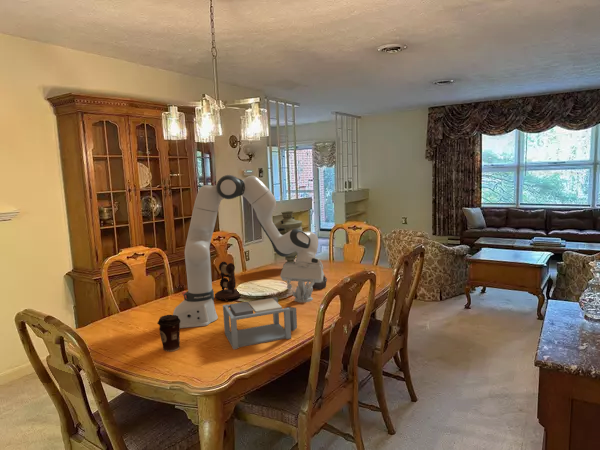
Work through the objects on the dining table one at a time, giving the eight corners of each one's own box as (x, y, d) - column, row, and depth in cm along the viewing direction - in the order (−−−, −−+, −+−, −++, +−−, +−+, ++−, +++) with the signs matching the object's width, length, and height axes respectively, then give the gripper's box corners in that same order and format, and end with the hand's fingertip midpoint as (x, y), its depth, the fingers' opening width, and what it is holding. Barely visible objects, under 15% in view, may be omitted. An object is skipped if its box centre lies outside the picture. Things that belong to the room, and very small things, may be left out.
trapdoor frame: (233, 349, 162) (231, 318, 161) (224, 333, 179) (222, 305, 177) (291, 338, 171) (289, 309, 169) (277, 323, 187) (276, 297, 186)
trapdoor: (236, 320, 164) (236, 313, 164) (230, 310, 176) (229, 303, 176) (282, 312, 171) (281, 306, 170) (273, 303, 183) (272, 297, 182)
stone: (293, 330, 179) (292, 310, 177) (285, 329, 180) (284, 309, 179) (297, 327, 182) (296, 307, 181) (288, 326, 184) (287, 306, 182)
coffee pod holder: (247, 297, 229) (245, 261, 227) (225, 303, 219) (222, 266, 217) (231, 292, 240) (229, 258, 237) (209, 298, 229) (207, 263, 227)
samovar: (297, 276, 270) (295, 214, 264) (265, 272, 284) (262, 213, 279) (320, 266, 294) (318, 210, 289) (290, 263, 308) (287, 209, 303)
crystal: (317, 296, 225) (316, 269, 223) (306, 304, 213) (305, 275, 211) (301, 294, 230) (300, 268, 228) (289, 301, 218) (288, 274, 216)
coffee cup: (160, 354, 160) (157, 322, 159) (158, 346, 168) (155, 315, 166) (183, 350, 164) (181, 318, 162) (181, 342, 171) (178, 312, 169)
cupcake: (313, 290, 237) (312, 273, 236) (308, 285, 246) (308, 269, 245) (329, 288, 239) (328, 271, 238) (324, 284, 249) (323, 267, 247)
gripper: (282, 258, 198) (275, 284, 191) (323, 260, 191) (317, 286, 184) (286, 265, 203) (279, 290, 195) (326, 267, 196) (321, 293, 188)
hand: (298, 288), depth 189 cm, fingers open, 8 cm apart
